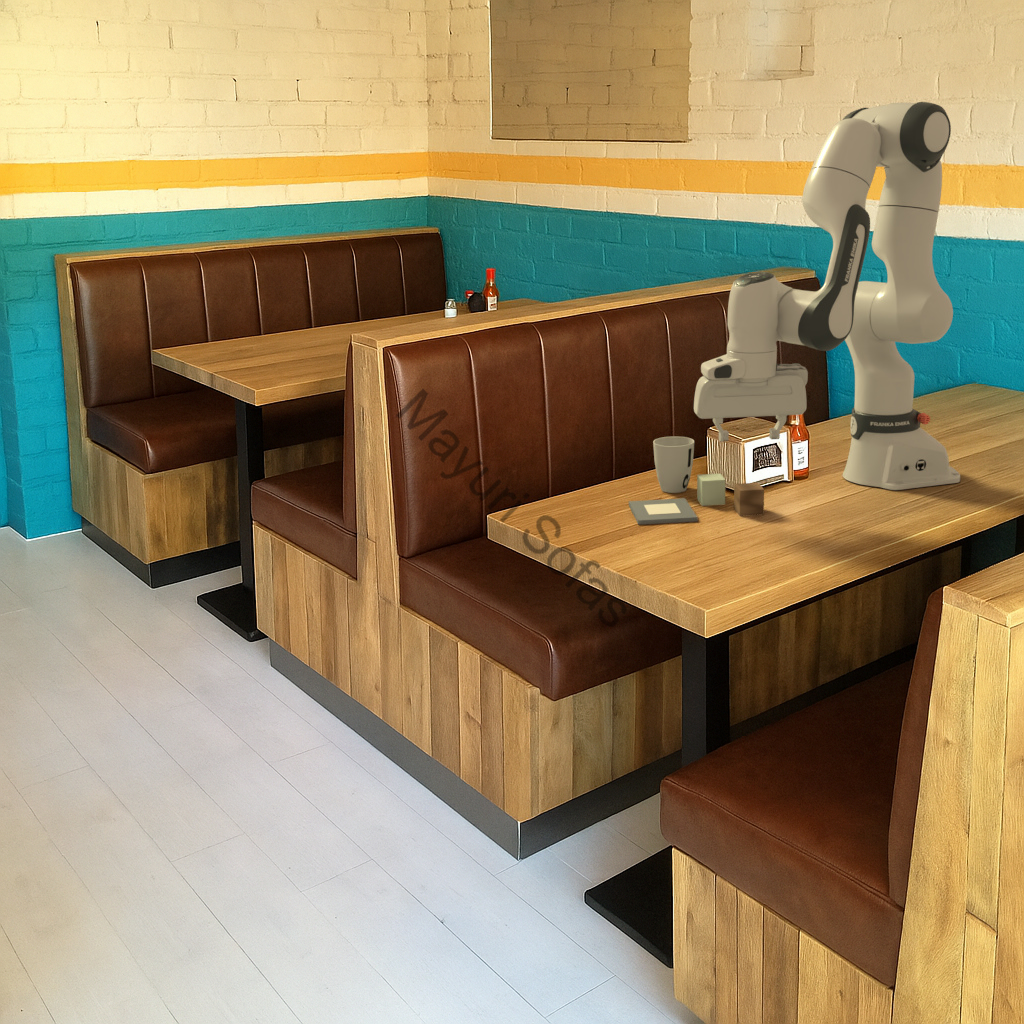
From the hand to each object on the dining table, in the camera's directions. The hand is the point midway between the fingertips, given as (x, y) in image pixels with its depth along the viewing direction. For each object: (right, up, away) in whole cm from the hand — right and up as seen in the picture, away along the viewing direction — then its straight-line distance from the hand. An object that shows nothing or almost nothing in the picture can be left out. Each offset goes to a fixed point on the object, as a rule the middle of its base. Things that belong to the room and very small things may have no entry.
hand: (748, 439), depth 209 cm
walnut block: (+1, -13, +4) cm, 14 cm away
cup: (-11, -9, +20) cm, 25 cm away
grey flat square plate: (-15, -14, +6) cm, 21 cm away
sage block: (-5, -11, +11) cm, 17 cm away
